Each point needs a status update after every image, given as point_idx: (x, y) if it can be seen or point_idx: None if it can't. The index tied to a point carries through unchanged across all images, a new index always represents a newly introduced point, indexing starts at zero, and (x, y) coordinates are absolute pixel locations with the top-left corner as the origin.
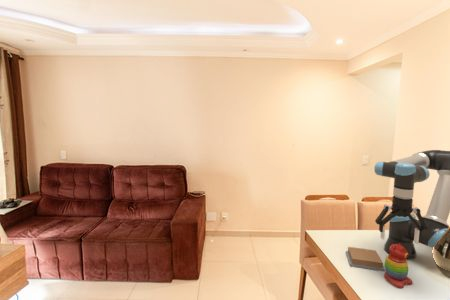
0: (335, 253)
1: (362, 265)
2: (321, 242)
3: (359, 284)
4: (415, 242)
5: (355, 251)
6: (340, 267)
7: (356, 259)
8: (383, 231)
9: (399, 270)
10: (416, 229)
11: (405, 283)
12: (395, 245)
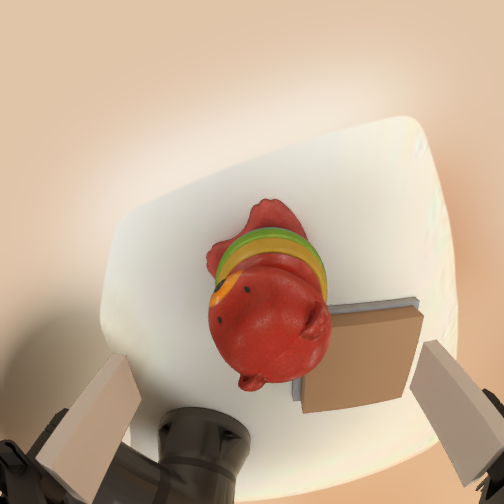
0: None
1: (379, 309)
2: None
3: (412, 177)
4: (129, 375)
5: (389, 377)
6: (446, 274)
7: (410, 317)
8: (480, 394)
9: (271, 231)
10: (70, 484)
11: (237, 235)
12: (301, 347)
